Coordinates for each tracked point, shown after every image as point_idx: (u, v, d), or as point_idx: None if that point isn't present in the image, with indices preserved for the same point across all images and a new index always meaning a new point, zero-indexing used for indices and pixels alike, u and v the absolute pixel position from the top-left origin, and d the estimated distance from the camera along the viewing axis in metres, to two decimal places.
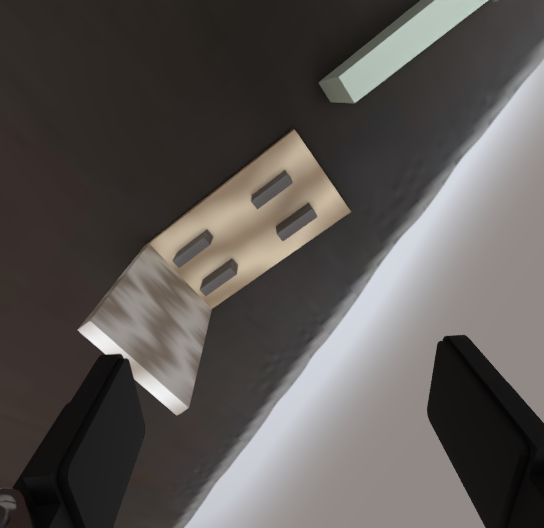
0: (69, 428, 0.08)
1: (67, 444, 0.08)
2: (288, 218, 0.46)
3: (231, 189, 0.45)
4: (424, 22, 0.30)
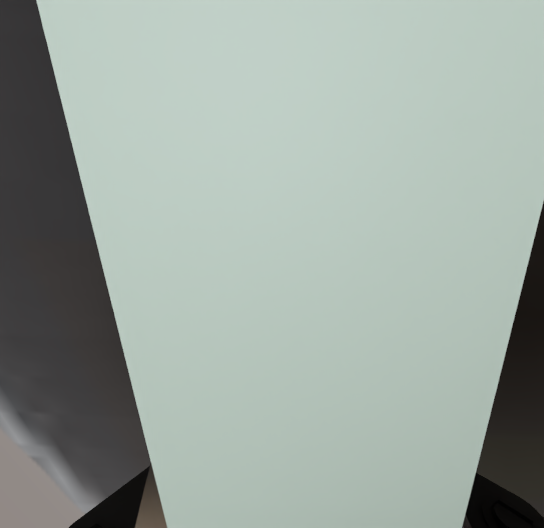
0: None
1: None
2: None
3: None
4: None
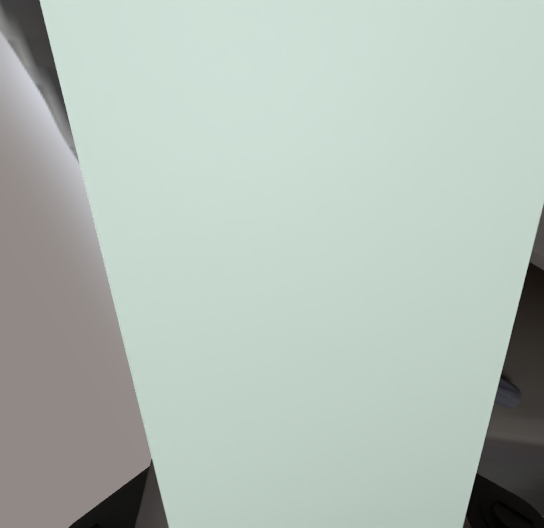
0: None
1: None
2: None
3: None
4: None
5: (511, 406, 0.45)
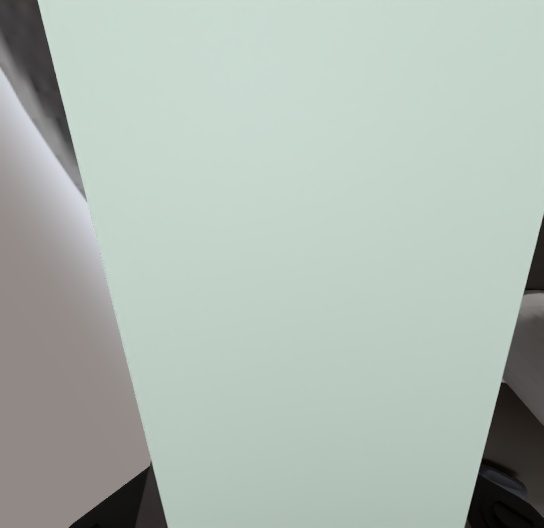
0: None
1: None
2: None
3: None
4: None
5: None
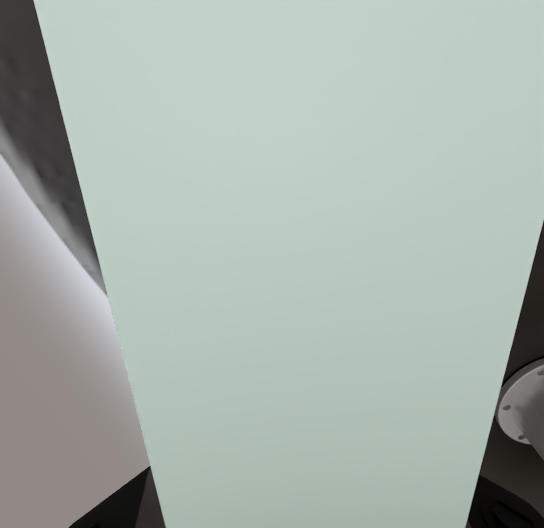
0: None
1: None
2: None
3: None
4: None
5: None
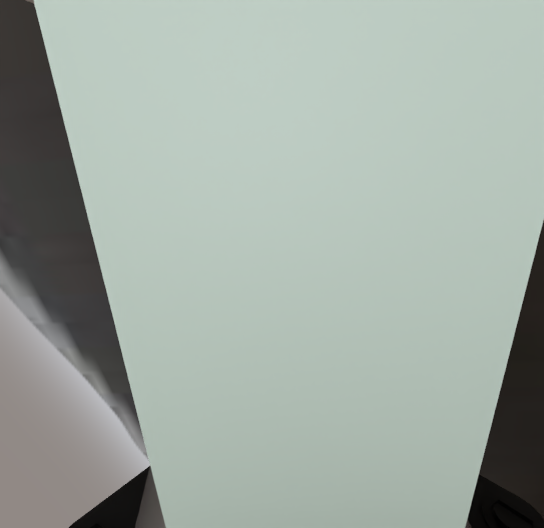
0: None
1: None
2: None
3: None
4: None
5: None
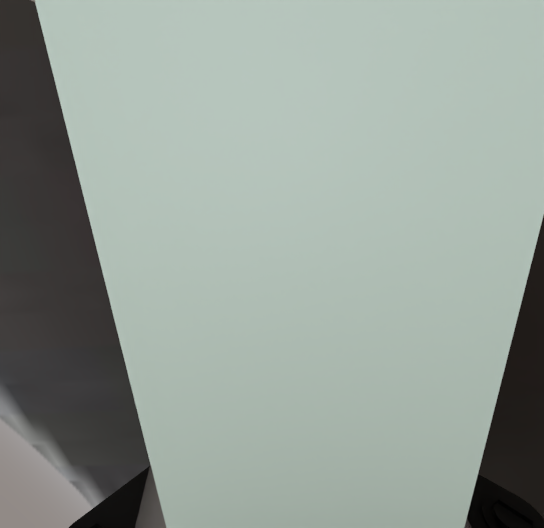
0: None
1: None
2: None
3: None
4: None
5: None
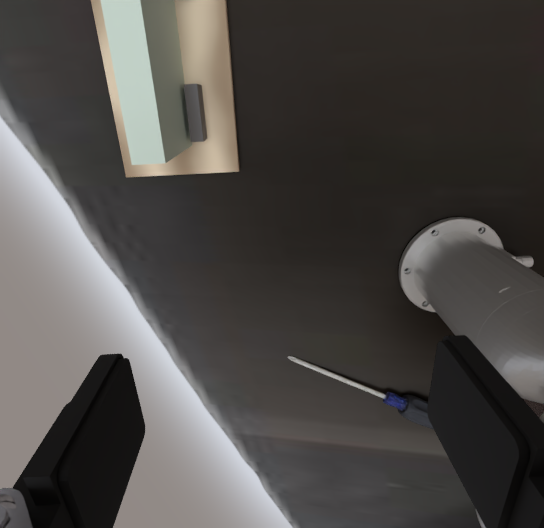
0: (69, 428, 0.08)
1: (67, 443, 0.08)
2: None
3: (220, 66, 0.36)
4: None
5: None
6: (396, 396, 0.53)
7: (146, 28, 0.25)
